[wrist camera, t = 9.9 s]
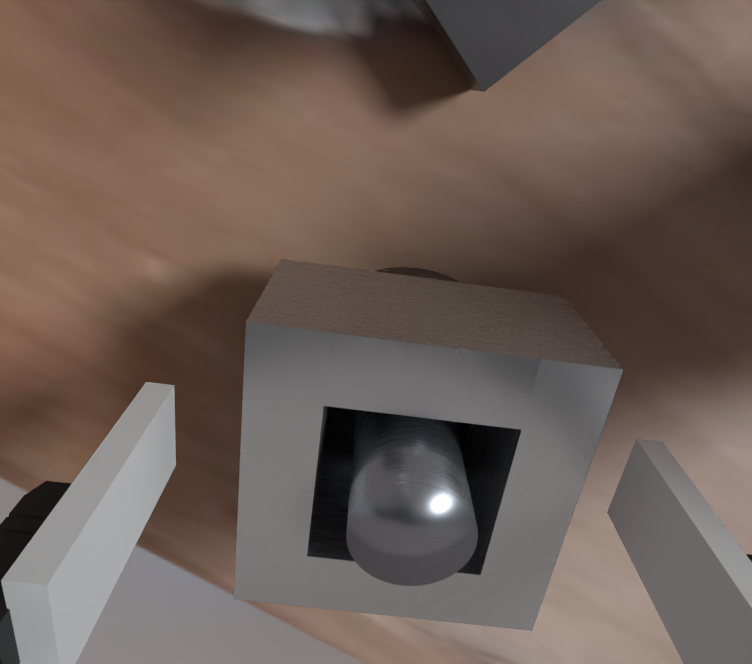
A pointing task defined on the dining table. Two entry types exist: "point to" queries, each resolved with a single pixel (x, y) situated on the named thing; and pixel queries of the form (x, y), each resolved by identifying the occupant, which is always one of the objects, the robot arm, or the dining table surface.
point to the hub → (405, 489)
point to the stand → (497, 32)
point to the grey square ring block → (417, 399)
